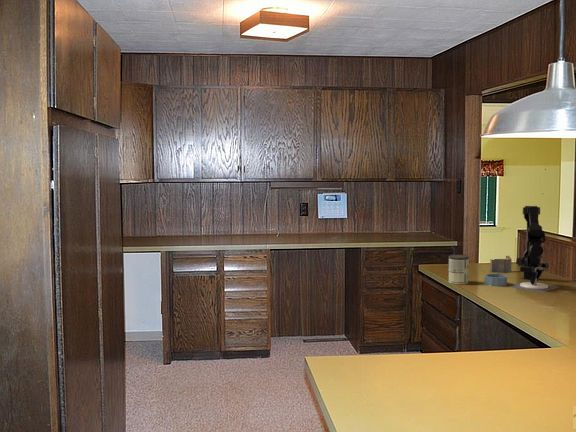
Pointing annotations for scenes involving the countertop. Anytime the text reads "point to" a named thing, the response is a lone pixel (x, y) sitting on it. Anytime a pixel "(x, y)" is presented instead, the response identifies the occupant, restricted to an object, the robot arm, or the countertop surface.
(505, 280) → the bowl
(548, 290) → the mat
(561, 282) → the countertop surface
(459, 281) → the coffee can
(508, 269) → the architectural model on board
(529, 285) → the lid
